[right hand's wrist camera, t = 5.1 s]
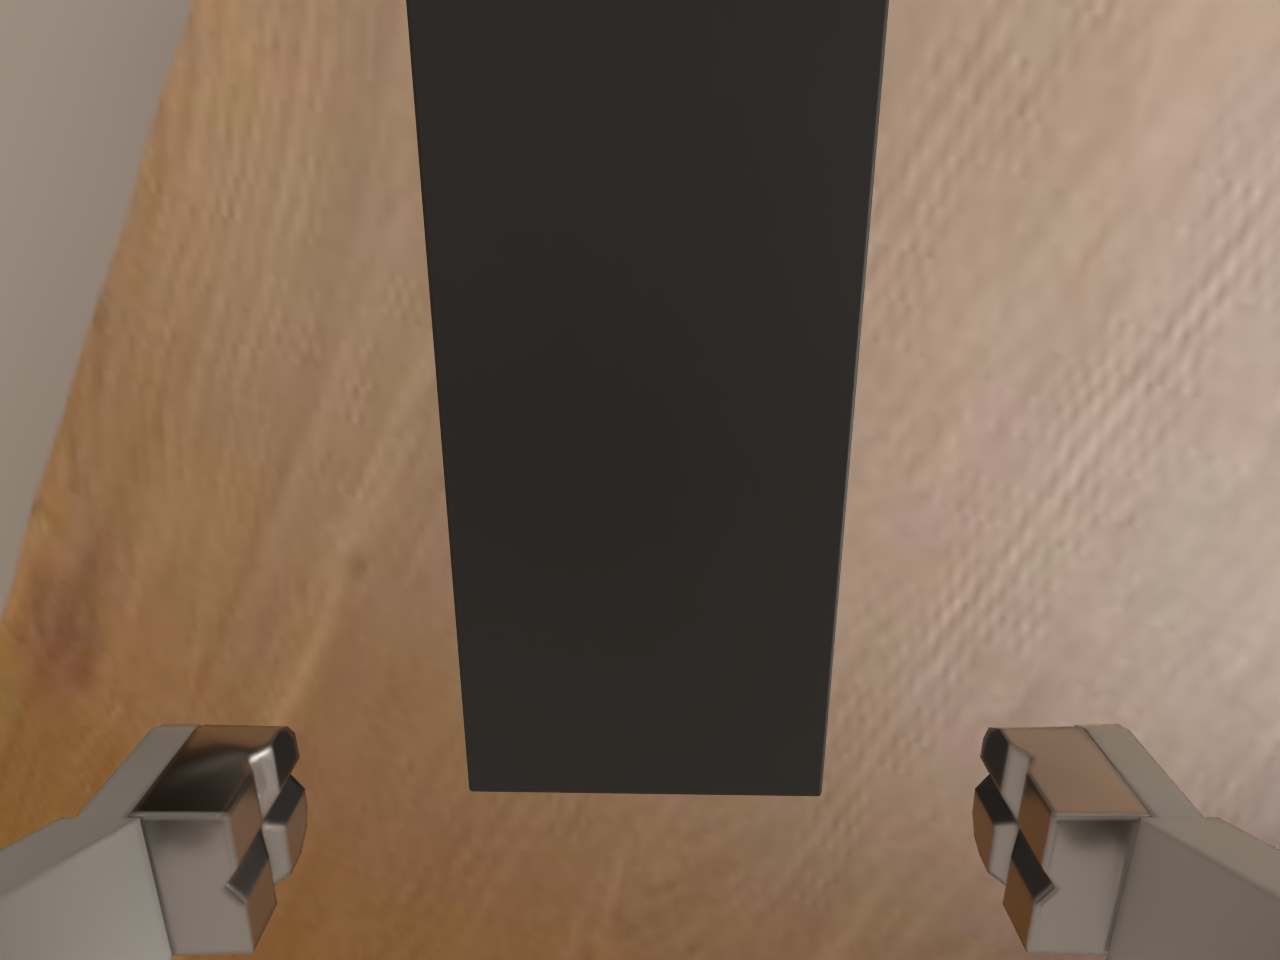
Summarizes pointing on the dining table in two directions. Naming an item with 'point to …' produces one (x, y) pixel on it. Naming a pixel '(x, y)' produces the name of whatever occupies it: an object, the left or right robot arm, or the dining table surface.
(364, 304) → the dining table surface
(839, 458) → the box
